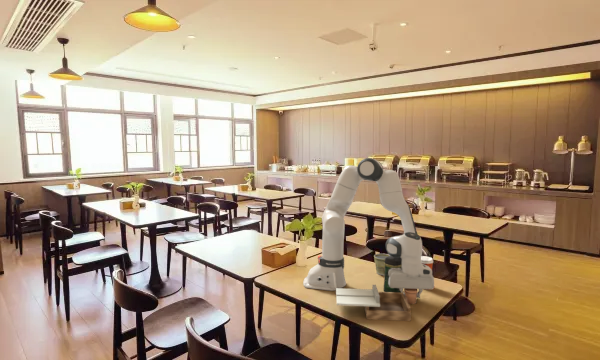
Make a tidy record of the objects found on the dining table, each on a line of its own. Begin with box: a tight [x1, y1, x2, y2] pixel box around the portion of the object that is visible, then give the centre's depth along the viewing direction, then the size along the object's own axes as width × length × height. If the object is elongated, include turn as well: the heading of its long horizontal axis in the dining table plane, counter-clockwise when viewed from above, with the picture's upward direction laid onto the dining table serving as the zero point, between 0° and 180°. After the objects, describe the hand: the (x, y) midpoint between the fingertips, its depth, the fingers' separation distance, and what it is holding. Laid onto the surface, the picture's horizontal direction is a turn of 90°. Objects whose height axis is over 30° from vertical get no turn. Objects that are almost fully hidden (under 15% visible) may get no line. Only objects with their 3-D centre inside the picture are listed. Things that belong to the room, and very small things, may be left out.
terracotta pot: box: [403, 288, 418, 305], centre depth 158 cm, size 6×6×6 cm
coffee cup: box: [421, 255, 434, 271], centre depth 174 cm, size 8×8×15 cm
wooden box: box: [363, 291, 412, 322], centre depth 149 cm, size 18×16×5 cm
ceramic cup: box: [373, 253, 390, 277], centre depth 192 cm, size 13×10×10 cm
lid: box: [335, 284, 380, 307], centre depth 150 cm, size 18×15×4 cm
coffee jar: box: [383, 255, 404, 293], centre depth 168 cm, size 10×8×19 cm
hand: (410, 297), depth 158 cm, fingers closed on terracotta pot, 5 cm apart
